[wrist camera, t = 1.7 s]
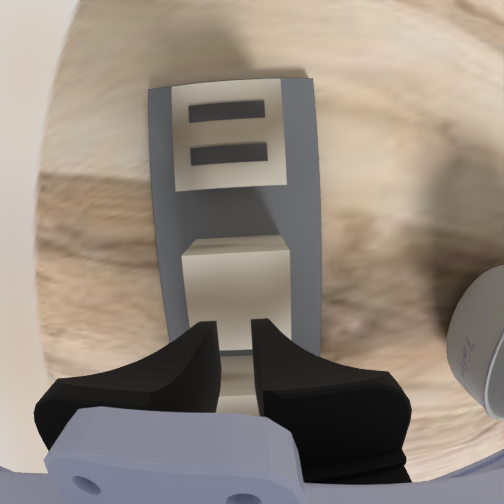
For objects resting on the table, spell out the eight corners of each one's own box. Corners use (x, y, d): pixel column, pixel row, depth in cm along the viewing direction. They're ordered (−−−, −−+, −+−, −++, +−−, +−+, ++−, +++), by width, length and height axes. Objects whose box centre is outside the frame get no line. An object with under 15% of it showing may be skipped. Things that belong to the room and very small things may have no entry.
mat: (314, 414, 23) (315, 420, 22) (188, 419, 23) (187, 426, 22) (310, 82, 18) (312, 78, 17) (151, 92, 18) (148, 89, 17)
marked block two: (277, 184, 19) (287, 184, 14) (192, 189, 19) (175, 191, 14) (272, 101, 18) (280, 78, 13) (188, 107, 18) (171, 86, 13)
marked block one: (284, 409, 22) (290, 452, 18) (216, 412, 22) (211, 455, 18) (283, 353, 21) (291, 393, 17) (208, 356, 21) (200, 397, 17)
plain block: (282, 313, 20) (291, 346, 16) (203, 316, 20) (193, 351, 16) (280, 234, 19) (289, 250, 15) (196, 239, 19) (181, 255, 15)
